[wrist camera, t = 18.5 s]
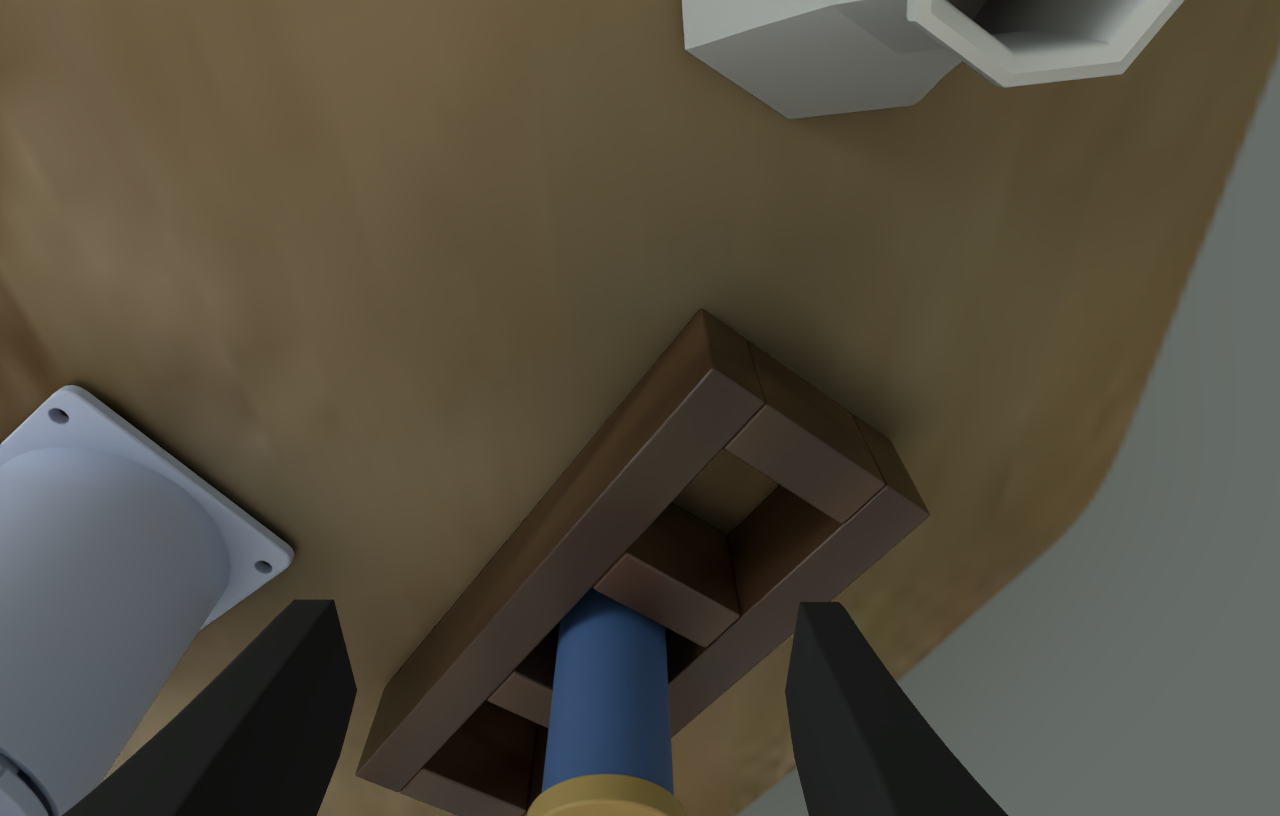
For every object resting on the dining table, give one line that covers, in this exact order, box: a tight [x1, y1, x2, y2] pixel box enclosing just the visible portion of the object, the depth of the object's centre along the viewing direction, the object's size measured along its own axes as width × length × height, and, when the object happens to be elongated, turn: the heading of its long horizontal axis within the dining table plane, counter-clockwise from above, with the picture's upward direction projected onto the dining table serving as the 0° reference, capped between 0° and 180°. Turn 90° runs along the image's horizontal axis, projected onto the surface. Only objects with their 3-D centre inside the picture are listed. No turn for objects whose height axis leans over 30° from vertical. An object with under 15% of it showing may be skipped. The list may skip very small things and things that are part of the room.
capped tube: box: [527, 586, 687, 816], centre depth 21 cm, size 4×4×9 cm
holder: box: [356, 309, 930, 816], centre depth 24 cm, size 7×18×4 cm, turn 144°
